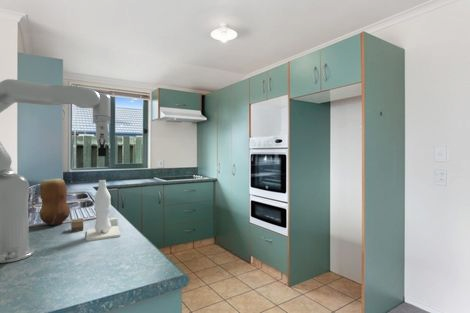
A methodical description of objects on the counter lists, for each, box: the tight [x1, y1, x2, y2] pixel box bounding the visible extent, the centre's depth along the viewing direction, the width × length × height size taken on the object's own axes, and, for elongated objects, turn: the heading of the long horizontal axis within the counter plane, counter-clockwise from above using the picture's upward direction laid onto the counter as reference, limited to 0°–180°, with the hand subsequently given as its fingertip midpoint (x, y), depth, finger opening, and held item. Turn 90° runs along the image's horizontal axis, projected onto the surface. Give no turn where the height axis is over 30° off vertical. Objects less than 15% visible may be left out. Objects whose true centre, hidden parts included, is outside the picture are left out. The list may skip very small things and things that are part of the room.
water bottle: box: [93, 179, 112, 233], centre depth 129 cm, size 7×7×25 cm
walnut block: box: [70, 218, 84, 233], centre depth 136 cm, size 5×5×5 cm
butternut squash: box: [39, 178, 71, 226], centre depth 146 cm, size 14×13×25 cm
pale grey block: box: [109, 217, 119, 227], centre depth 144 cm, size 4×4×4 cm
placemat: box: [85, 225, 121, 242], centre depth 130 cm, size 16×14×1 cm
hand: (101, 156), depth 129 cm, fingers open, 9 cm apart
